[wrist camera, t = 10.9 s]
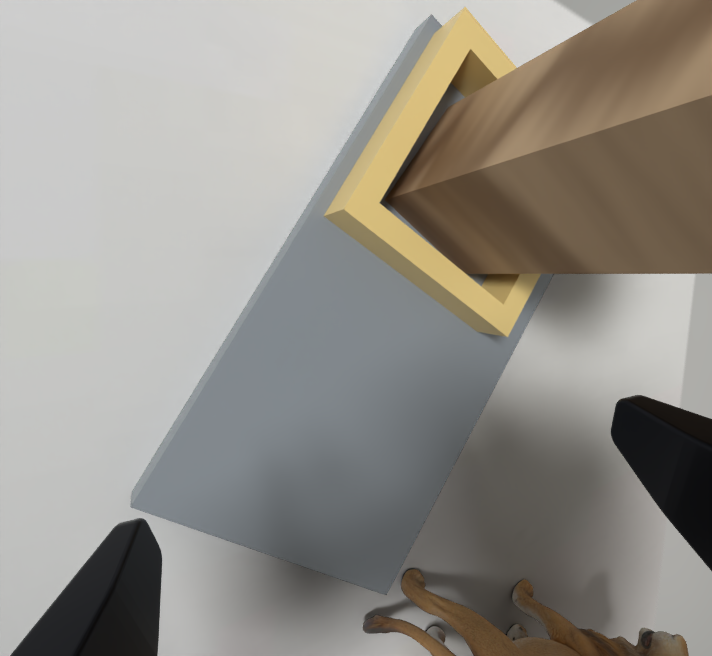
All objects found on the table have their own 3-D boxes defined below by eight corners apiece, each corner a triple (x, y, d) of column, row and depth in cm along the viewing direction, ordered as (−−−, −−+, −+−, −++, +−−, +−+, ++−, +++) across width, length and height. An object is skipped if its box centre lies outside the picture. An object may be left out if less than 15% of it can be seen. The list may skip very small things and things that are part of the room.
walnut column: (462, 273, 20) (896, 273, 8) (384, 199, 18) (807, 64, 6) (517, 187, 21) (985, 76, 9) (447, 107, 19) (930, -166, 7)
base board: (374, 579, 21) (409, 626, 19) (131, 492, 17) (127, 537, 14) (574, 200, 24) (631, 189, 21) (415, 29, 19) (462, -15, 16)
